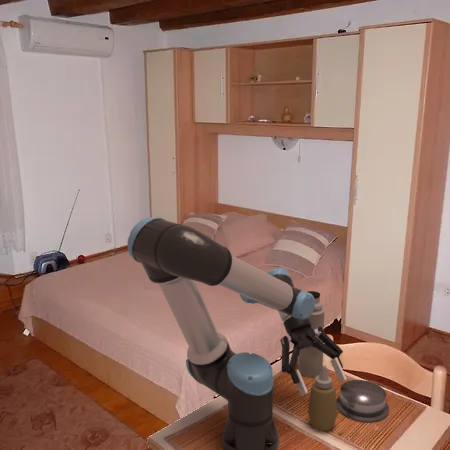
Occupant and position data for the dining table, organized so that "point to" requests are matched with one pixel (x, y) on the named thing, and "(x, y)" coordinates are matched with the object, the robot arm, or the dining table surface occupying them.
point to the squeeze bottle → (322, 402)
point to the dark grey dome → (362, 401)
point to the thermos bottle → (312, 356)
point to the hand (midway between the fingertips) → (324, 387)
